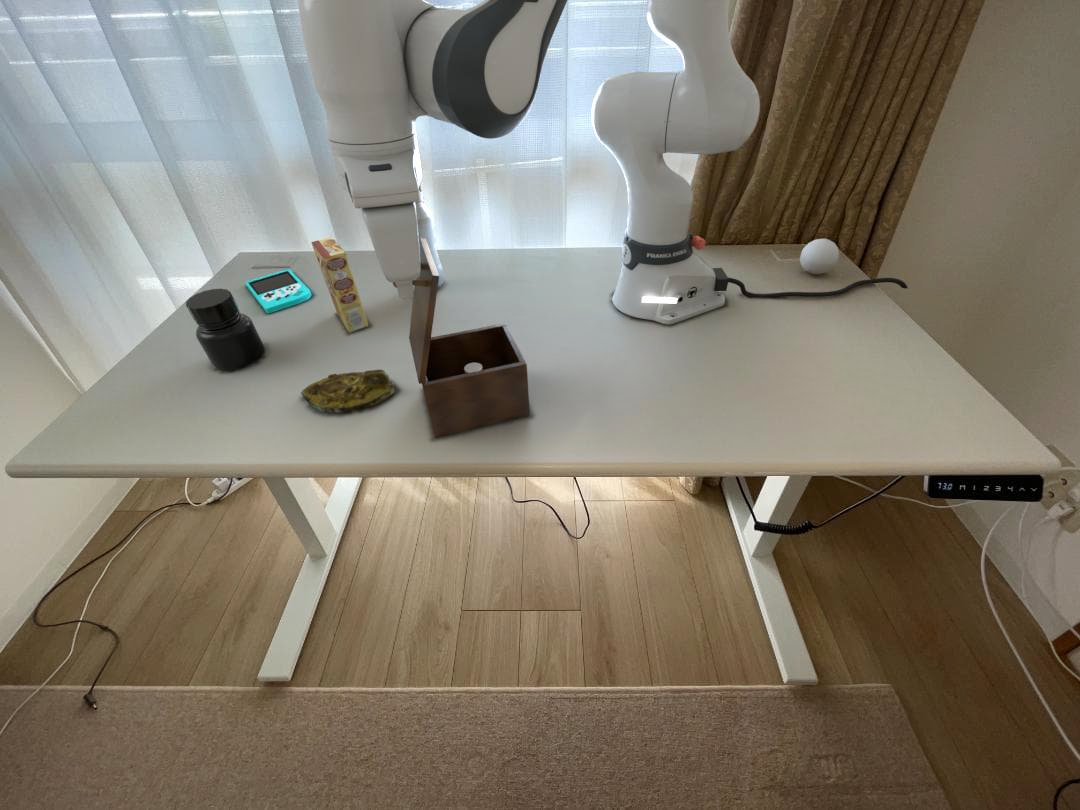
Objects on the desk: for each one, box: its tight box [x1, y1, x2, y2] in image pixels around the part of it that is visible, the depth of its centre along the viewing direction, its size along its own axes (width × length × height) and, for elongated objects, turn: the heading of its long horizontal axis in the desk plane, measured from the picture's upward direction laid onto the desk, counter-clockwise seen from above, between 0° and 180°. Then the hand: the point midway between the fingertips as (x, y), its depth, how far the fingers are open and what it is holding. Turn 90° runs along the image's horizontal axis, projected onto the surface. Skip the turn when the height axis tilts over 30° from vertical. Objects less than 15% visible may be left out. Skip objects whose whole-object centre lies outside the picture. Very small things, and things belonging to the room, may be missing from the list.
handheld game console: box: [245, 268, 312, 314], centre depth 107 cm, size 10×16×1 cm, turn 39°
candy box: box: [311, 236, 369, 333], centre depth 93 cm, size 9×4×15 cm, turn 33°
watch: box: [464, 363, 483, 374], centre depth 75 cm, size 6×3×6 cm, turn 178°
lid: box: [392, 238, 439, 385], centre depth 64 cm, size 15×12×5 cm
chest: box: [421, 322, 531, 438], centre depth 74 cm, size 15×12×10 cm
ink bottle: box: [185, 288, 266, 371], centre depth 85 cm, size 10×9×12 cm
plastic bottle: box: [415, 188, 445, 288], centre depth 101 cm, size 6×7×20 cm
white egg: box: [799, 238, 840, 275], centre depth 106 cm, size 10×7×7 cm
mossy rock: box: [300, 369, 396, 414], centre depth 79 cm, size 9×5×15 cm
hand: (403, 282), depth 62 cm, fingers closed on lid, 6 cm apart
